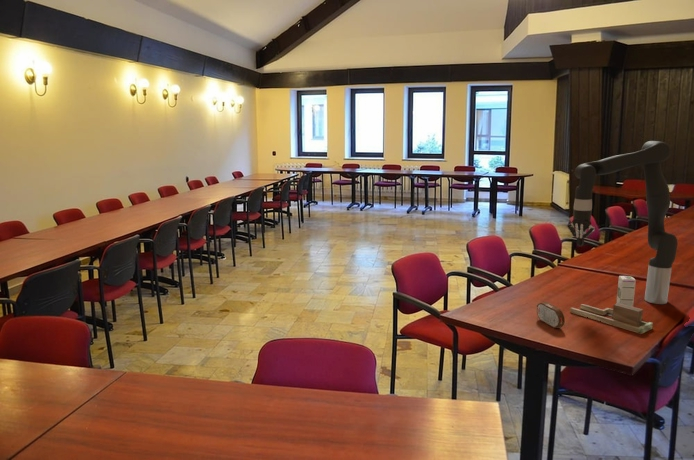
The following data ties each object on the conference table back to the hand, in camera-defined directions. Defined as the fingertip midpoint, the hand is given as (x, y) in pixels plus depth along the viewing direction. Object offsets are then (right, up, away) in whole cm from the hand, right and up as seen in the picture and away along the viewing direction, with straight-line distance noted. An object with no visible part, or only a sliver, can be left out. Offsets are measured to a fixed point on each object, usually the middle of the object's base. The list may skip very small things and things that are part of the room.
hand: (579, 245), depth 243 cm
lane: (+6, -31, -18) cm, 36 cm away
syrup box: (+18, -28, -5) cm, 34 cm away
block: (+8, -32, -25) cm, 41 cm away
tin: (-23, -32, -24) cm, 46 cm away
